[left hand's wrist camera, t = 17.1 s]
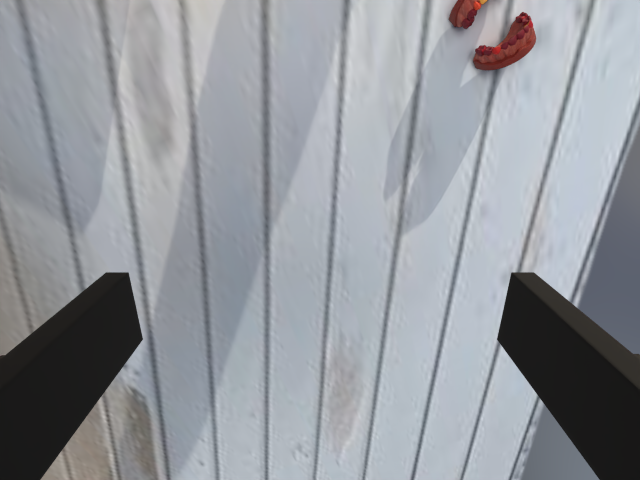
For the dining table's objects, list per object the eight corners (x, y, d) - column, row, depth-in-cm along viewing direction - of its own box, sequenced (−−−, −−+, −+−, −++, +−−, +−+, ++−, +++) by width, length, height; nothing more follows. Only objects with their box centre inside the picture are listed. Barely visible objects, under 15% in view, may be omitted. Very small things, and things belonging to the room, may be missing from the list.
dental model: (514, -52, 30) (555, 35, 32) (493, -37, 34) (531, 40, 36) (454, -2, 31) (497, 78, 34) (440, 7, 35) (480, 78, 38)
